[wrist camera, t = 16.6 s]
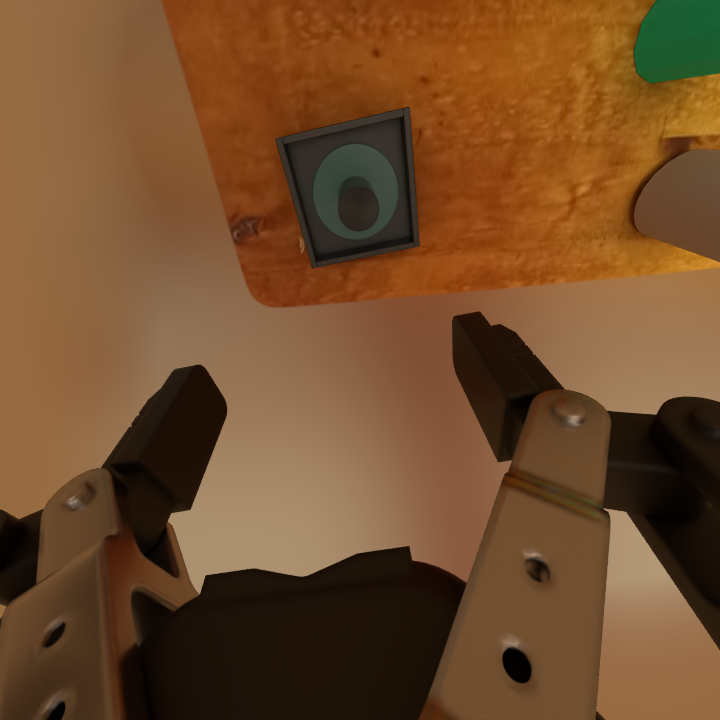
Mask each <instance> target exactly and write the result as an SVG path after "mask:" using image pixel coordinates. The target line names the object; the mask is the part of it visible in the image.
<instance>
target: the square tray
mask: <svg viewBox="0 0 720 720" xmlns="http://www.w3.org/2000/svg"><path fill="white" fill-rule="evenodd" d="M275 140H276V143H277V147H278V150H279V154H280V157H281V160H282V164H283V167H284V171H285V174H286V178H287V181H288V185H289V188H290V192H291V195H292V199H293V202H294V206H295V209H296V213H297V216H298V220H299V223H300V227H301V230H302V234H303V237H304V240H305V244H306V247H307V251H308V254H309V258H310V261H311V265H312V268H316V267H321V266H325V265H330V264H335V263H340V262H345V261H350V260H355V259H360V258H365V257H370V256H374V255H379V254H384V253H389V252H394V251H399V250H404V249H409V248H414V247H419V246H420V245H419V231H418V217H417V203H416V189H415V175H414V161H413V147H412V133H411V119H410V107H406V108H402V109H398V110H394V111H389V112H385V113H381V114H377V115H373V116H368V117H364V118H360V119H356V120H351V121H347V122H343V123H339V124H335V125H330V126H326V127H322V128H318V129H314V130H309V131H305V132H301V133H297V134H292V135H288V136H284V137H280V138H276V139H275ZM351 143H359V144H365V145H368V146H371V147H373V148H375V149H376V150H378V151H379V152H381V153H382V154H383V155H384V156H385V157H386V158H387V160H388V161H389V162H390V164H391V165H392V167H393V169H394V172H395V174H396V177H397V182H398V192H399V193H398V202H397V206H396V209H395V212H394V214H393V216H392V218H391V220H390V221H389V222H388V224H387V225H386V226H385V227H384V228H383V229H382V230H381V231H380V232H378V233H377V234H375V235H373V236H371V237H369V238H365V239H360V240H351V239H346V238H342V237H340V236H338V235H336V234H334V233H333V232H332V231H330V230H329V229H328V228H327V227H326V226H325V225H324V224H323V222H322V221H321V219H320V218H319V216H318V214H317V212H316V209H315V206H314V201H313V182H314V177H315V174H316V171H317V169H318V167H319V165H320V164H321V162H322V161H323V159H324V158H325V157H326V156H327V155H328V154H329V153H330V152H331V151H333V150H334V149H336V148H338V147H340V146H343V145H346V144H351Z"/></svg>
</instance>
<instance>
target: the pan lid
mask: <svg viewBox="0 0 720 720" xmlns="http://www.w3.org/2000/svg"><path fill="white" fill-rule="evenodd" d="M398 193H399V192H398V182H397V177H396V174H395V172H394V169H393V167H392V165H391V164H390V162H389V161H388V160H387V158H386V157H385V156H384V155H383V154H382V153H381V152H379V151H378V150H376V149H375V148H373V147H371V146H368V145H365V144H359V143H351V144H346V145H343V146H340V147H338V148H336V149H334V150H333V151H331V152H330V153H329V154H328V155H327V156H326V157H325V158H324V159H323V161H322V162H321V164H320V165H319V167H318V169H317V171H316V174H315V177H314V182H313V201H314V206H315V209H316V212H317V214H318V216H319V218H320V219H321V221H322V222H323V224H324V225H325V226H326V227H327V228H328V229H329V230H330V231H332V232H333V233H334V234H336V235H338V236H340V237H342V238H346V239H351V240H360V239H365V238H369V237H371V236H373V235H375V234H377V233H378V232H380V231H381V230H382V229H383V228H384V227H385V226H386V225H387V224H388V222H389V221H390V220H391V218H392V216H393V214H394V212H395V209H396V206H397V202H398Z"/></svg>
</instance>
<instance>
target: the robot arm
mask: <svg viewBox="0 0 720 720" xmlns="http://www.w3.org/2000/svg"><path fill="white" fill-rule="evenodd" d="M452 337H453V338H452V341H453V364H454V368H455V372H456V375H457V377H458V379H459V381H460V383H461V386H462V388H463V390H464V392H465V394H466V396H467V398H468V400H469V402H470V405H471V407H472V409H473V411H474V413H475V415H476V417H477V419H478V421H479V423H480V426H481V428H482V429H483V432H484V434H485V436H486V438H487V440H488V442H489V444H490V446H491V449H492V451H493V453H494V455H495V457H496V459H497V461H498V462H503V461H509V460H512V463H511V465H510V468H509V471H508V473H505V475H504V477H503V480H502V482H501V485H500V488H499V491H498V494H497V497H496V500H495V502H494V506H493V508H492V511H491V514H490V517H489V520H488V523H487V526H486V529H485V532H484V535H483V538H482V541H481V544H480V547H479V549H478V552H477V556H476V558H475V561H474V564H473V567H472V570H471V573H470V576H469V579H468V582H467V583H466V582H465V581H463V580H462V579H460V578H458V577H457V576H455V575H454V574H452V573H450V572H448V571H445V570H444V569H442V568H439V567H437V566H434V565H430V564H427V563H424V562H418V561H413V560H412V557H411V552H410V548H409V546H407V547H399V548H392V549H386V550H378V551H371V552H365V553H358V554H355V555H353V556H351V557H348V558H346V559H344V560H342V561H340V562H337V563H335V564H333V565H331V566H328V567H326V568H324V569H322V570H319V571H318V572H315V573H313V574H311V575H308V576H304V577H298V576H293V575H287V574H282V573H276V572H271V571H266V570H260V569H246V570H239V571H233V572H226V573H219V574H212V575H206V576H205V579H204V583H203V586H202V590H201V593H200V595H199V594H198V592H197V591H196V590H195V588H194V587H193V585H192V583H191V581H190V578H189V575H188V572H187V569H186V566H185V563H184V560H183V556H182V553H181V550H180V547H179V544H178V541H177V538H176V534H175V531H174V528H173V526H172V525H171V524H170V523H169V522H168V519H169V517H170V515H171V513H175V512H181V511H187V510H190V509H191V507H192V504H193V502H194V499H195V497H196V494H197V491H198V489H199V486H200V484H201V481H202V478H203V476H204V473H205V471H206V468H207V465H208V463H209V460H210V457H211V455H212V452H213V450H214V447H215V445H216V442H217V440H218V437H219V434H220V432H221V429H222V426H223V424H224V421H225V419H226V416H227V405H226V401H225V399H224V397H223V395H222V394H221V392H220V390H219V389H218V387H217V386H216V384H215V383H214V381H213V379H212V378H211V376H210V375H209V373H208V372H207V370H206V369H205V368H204V367H203V366H202V365H194V366H189V367H184V368H178V369H175V370H173V372H172V373H171V374H170V376H169V377H168V379H167V380H166V382H165V383H164V385H163V386H162V388H161V389H160V390H159V391H157V392H156V393H155V394H154V395H153V396H152V397H151V398H150V399H148V401H147V402H146V404H145V405H144V407H143V408H142V409H141V411H140V412H139V415H138V416H137V417H136V418H135V419H134V421H133V422H132V427H129V428H128V430H127V431H126V432H125V434H124V435H123V437H122V438H121V440H120V441H119V443H118V444H117V445H116V447H115V448H114V450H113V451H112V453H111V454H110V456H109V457H108V458H107V460H106V461H105V463H104V464H103V466H102V467H101V468H97V469H92V470H89V471H86V472H84V473H82V474H80V475H78V476H77V477H75V478H74V479H72V480H70V481H69V482H68V483H66V484H65V485H64V486H62V487H61V488H60V489H59V490H58V491H57V492H56V493H55V494H54V495H53V496H52V498H51V499H50V500H49V501H48V503H47V504H46V506H45V507H44V509H42V510H40V511H38V512H35V513H33V514H30V515H28V516H26V517H23V518H21V519H17V518H16V517H14V516H12V515H10V514H9V513H7V512H5V511H3V510H0V604H1V605H5V606H7V607H6V608H5V611H4V613H3V616H2V618H1V619H0V720H605V719H604V718H603V717H602V716H601V715H600V714H599V713H598V712H597V711H596V706H597V693H598V680H599V667H600V654H601V641H602V629H603V617H604V603H605V591H606V578H607V565H608V553H609V540H610V515H609V513H608V512H607V511H605V510H604V509H603V508H606V509H612V510H618V511H625V512H627V514H628V515H629V517H630V518H631V519H632V521H633V523H634V524H635V526H636V527H637V528H638V530H639V531H640V533H641V534H642V536H643V537H644V539H645V540H646V542H647V543H648V545H649V546H650V548H651V549H652V551H653V552H654V554H655V555H656V557H657V558H658V560H659V561H660V562H661V564H662V565H663V567H664V568H665V570H666V571H667V573H668V574H669V575H670V577H671V579H672V580H673V581H674V583H675V585H676V586H677V588H678V589H679V590H680V592H681V593H682V595H683V596H684V598H685V599H686V601H687V602H688V604H689V605H690V607H691V608H692V610H693V611H694V613H695V614H696V616H697V617H698V618H699V620H700V621H701V623H702V624H703V626H704V627H705V629H706V630H707V632H708V633H709V635H710V636H711V638H712V639H713V641H714V642H715V643H716V645H717V647H718V648H719V649H720V402H718V401H714V400H710V399H706V398H699V397H677V398H672V399H670V400H668V401H666V402H664V403H663V405H662V406H661V407H660V409H659V411H658V413H657V414H656V415H652V414H639V413H625V412H613V411H607V410H606V409H605V408H604V407H603V406H602V405H601V404H599V403H598V402H597V401H596V400H594V399H593V398H591V397H589V396H587V395H584V394H582V393H578V392H575V391H570V390H565V389H564V388H563V387H562V386H561V384H560V383H559V382H558V381H557V380H556V379H555V378H554V376H553V375H552V374H551V373H550V372H549V371H548V369H547V368H546V367H545V366H544V365H543V364H542V363H541V361H540V360H539V359H538V358H537V357H536V355H533V352H532V351H531V350H530V349H529V347H528V346H527V345H525V343H524V342H523V341H522V339H521V338H520V337H519V336H518V335H517V333H516V332H514V331H512V330H510V329H508V328H507V327H504V326H503V325H501V324H498V325H493V326H491V325H490V324H489V323H488V321H487V320H486V319H485V317H484V316H483V315H482V314H481V312H473V313H468V314H463V315H457V316H454V317H453V320H452Z"/></svg>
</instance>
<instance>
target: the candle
mask: <svg viewBox="0 0 720 720" xmlns="http://www.w3.org/2000/svg"><path fill="white" fill-rule="evenodd" d="M634 56H635V63H636V70H637V73H638V74H639V75H640V76H641V77H643V78H644V79H645V80H646V81H648V82H649V83H655V82H662V81H669V80H676V79H683V78H690V77H697V76H704V75H711V74H718V73H720V0H656V2H655V3H654V5H653V7H652V8H651V10H650V11H649V13H648V14H647V16H646V17H645V19H644V20H643V22H642V25H641V28H640V32H639V35H638V38H637V42H636V45H635V49H634Z"/></svg>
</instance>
